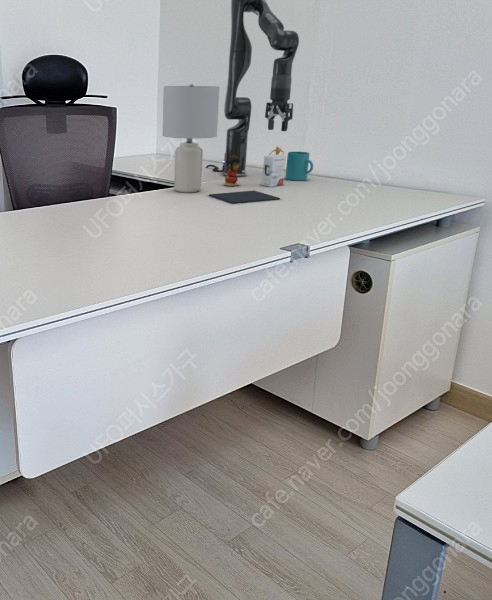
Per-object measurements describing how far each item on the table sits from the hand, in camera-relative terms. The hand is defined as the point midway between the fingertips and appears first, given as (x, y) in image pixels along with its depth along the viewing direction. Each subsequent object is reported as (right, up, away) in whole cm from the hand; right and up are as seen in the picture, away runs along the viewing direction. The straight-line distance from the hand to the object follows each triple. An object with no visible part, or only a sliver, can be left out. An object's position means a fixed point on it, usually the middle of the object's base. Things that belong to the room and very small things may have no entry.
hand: (277, 130), depth 234 cm
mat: (-17, -30, -18) cm, 38 cm away
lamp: (-36, -25, -4) cm, 44 cm away
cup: (+15, -15, +21) cm, 30 cm away
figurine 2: (+8, -9, +37) cm, 39 cm away
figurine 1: (-17, -21, +7) cm, 28 cm away
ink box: (0, -20, +8) cm, 22 cm away
